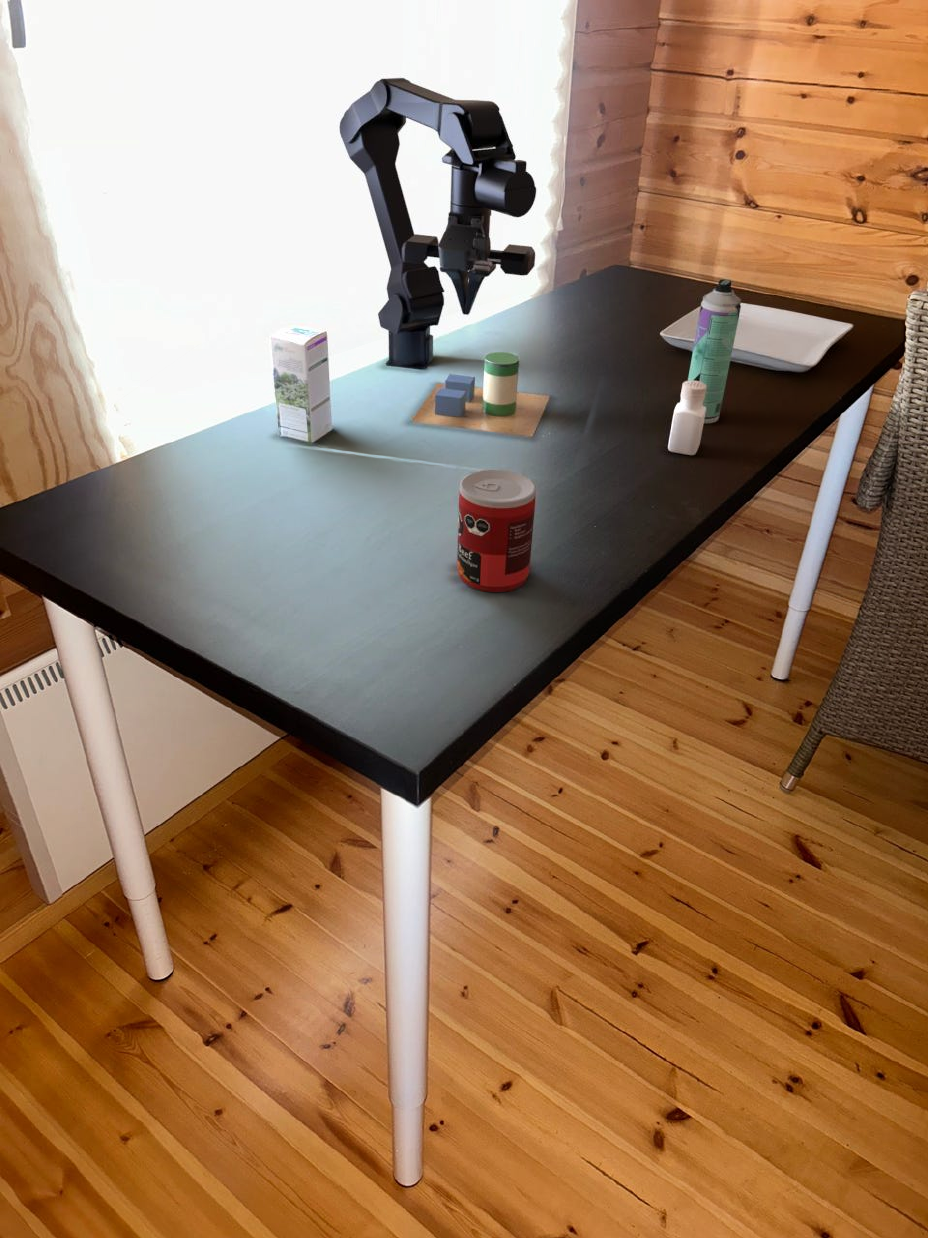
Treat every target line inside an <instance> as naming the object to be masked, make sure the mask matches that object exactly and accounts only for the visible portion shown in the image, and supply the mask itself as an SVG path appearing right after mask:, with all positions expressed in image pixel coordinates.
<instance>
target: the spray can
mask: <svg viewBox="0 0 928 1238" xmlns="http://www.w3.org/2000/svg"><path fill="white" fill-rule="evenodd" d="M740 303H742V299H741V298H740V297H738V296H737V295H736V294H735V291H734V290H733V288H732V280H730V279H726V278H725V279H719V280H718V284H717V286H715V288H713V290H712V291H710V292H709V293H706V294H704V295H703V296H702V301H701V303H700V306H701V308H700V314H699V320H698V325H697V331H696V337H695V342H694V348H693V352H692V355H691V361H690V365H689V366H690V367H689V371H688V372H689V373H688V376H687V381H690V380H691V381H699V382H702V383H704V384H706V387H707V388H706V392H705V398H704V400H703V406H704V407H706V413H705V419H704V424H713V423H716V422H717V421H719V418H720V414H721V410H722V404H723V399H724V396H725V395H724V394H725V389H726V383H727V380H728V374H729V370H730V369H729V368H730V364H731V361H730V359H731V354H732V349H733V344H734V339H735V334H736V329H737V324H738V319H739V314H740V309H741V305H740Z"/></svg>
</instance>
